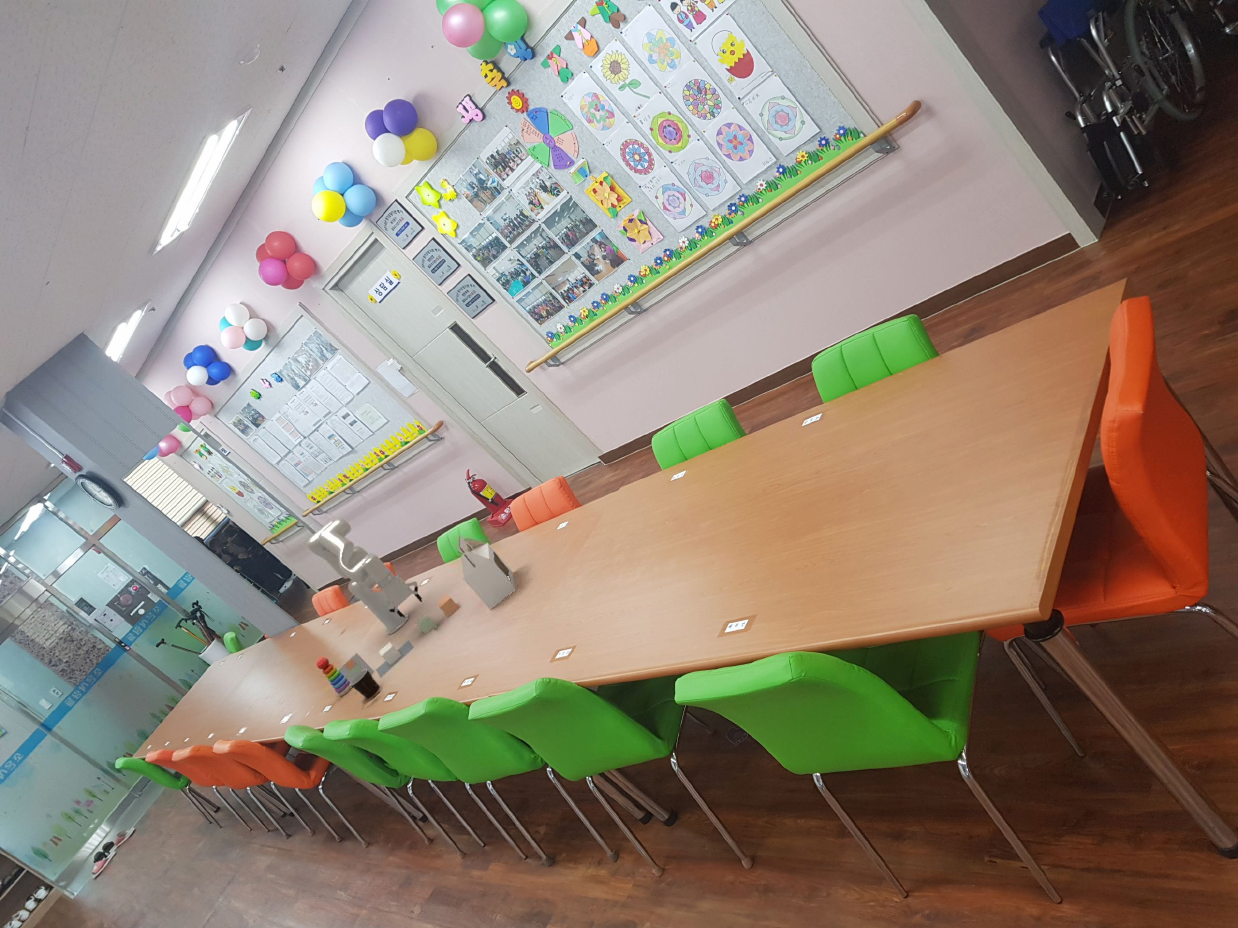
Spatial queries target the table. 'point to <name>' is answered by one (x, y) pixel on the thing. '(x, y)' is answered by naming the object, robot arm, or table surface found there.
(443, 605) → the terracotta block
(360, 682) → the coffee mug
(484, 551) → the gable box
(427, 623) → the sage green block
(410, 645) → the build plate
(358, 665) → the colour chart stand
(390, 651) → the off-white base block
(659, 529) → the table surface
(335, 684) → the stacking toy
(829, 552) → the table surface
